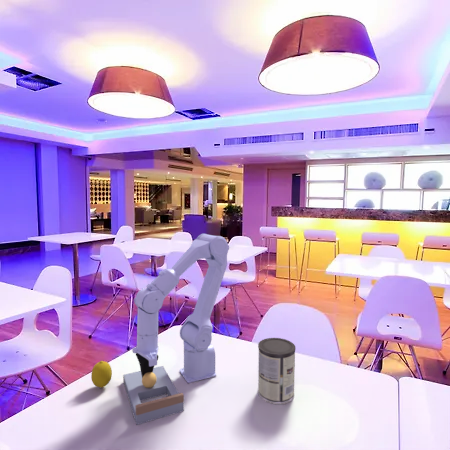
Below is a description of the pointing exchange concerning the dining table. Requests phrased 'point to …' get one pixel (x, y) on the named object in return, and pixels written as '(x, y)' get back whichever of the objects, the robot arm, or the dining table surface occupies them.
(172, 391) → the grey piece
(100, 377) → the lemon
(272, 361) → the coffee can
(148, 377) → the ball
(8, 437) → the dining table surface
